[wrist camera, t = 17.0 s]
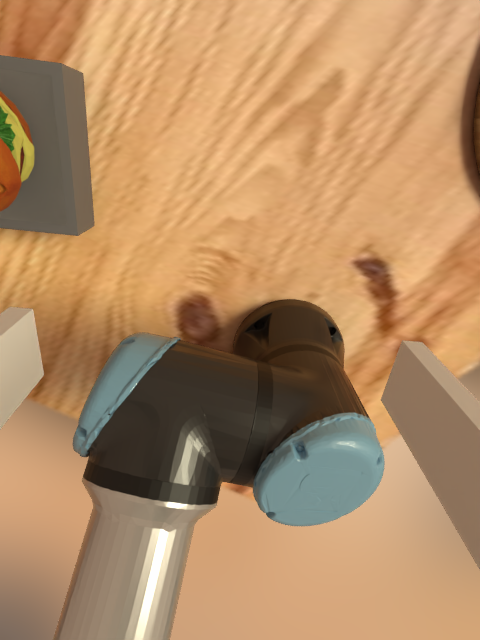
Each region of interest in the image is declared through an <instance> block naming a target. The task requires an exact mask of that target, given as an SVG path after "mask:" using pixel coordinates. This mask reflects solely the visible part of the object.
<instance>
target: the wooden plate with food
mask: <svg viewBox="0 0 480 640" xmlns="http://www.w3.org/2000/svg"><path fill="white" fill-rule="evenodd" d="M474 147H475V155H476V161H477V166H478V170H479V174H480V85H479V89H478V94H477V100H476V107H475V116H474Z"/></svg>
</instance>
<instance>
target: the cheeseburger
mask: <svg viewBox="0 0 480 640" xmlns="http://www.w3.org/2000/svg"><path fill="white" fill-rule="evenodd" d="M33 166H34V146H33V142H32V138H31V134H30V129H29V126H28V124H27V123H26V121H25V119H24V118H23V116H22V115H21V113H20V112H19V110H18V108H17V107H16V105H15V104H14V103H13V102H12V101H11V100H10V99H8V98H7V97H6V96H5V95H4V94H3V93H2V92H1V91H0V211H2V210H4V209H6V208H8V207H9V206H10V205H11V203H12V202H13V201H14V200H15V199H16V197H17V195H18V192H19V190H20V187H21V184H22V182H23V181H25V180H26V179H28V177H29V175H30V173H31V171H32V169H33Z"/></svg>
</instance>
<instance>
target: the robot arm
mask: <svg viewBox="0 0 480 640" xmlns="http://www.w3.org/2000/svg"><path fill="white" fill-rule="evenodd" d="M43 376H44V371H43V365H42V359H41V353H40V347H39V342H38V336H37V330H36V324H35V318H34V312H33V309H29V308H18V307H9V308H7V309H6V310H5V311H3V312H2V313H1V314H0V429H1V428H2V427H3V425H4V424H5V423H6V422H7V421H8V419H9V418H10V417H11V416H12V414H13V413H14V412H15V411H16V409H17V408H18V407H19V406H20V404H21V403H22V402H23V401H24V399H25V398H26V397H27V396H28V394H29V393H30V392H31V391H32V389H33V388H34V387H35V386H36V384H37V383H38V382H39V381H40V379H41V378H42V377H43ZM381 401H382V403H383V404H384V406H385V408H386V409H387V411H388V413H389V415H390V416H391V418H392V420H393V421H394V423H395V425H396V427H397V428H398V430H399V432H400V433H401V435H402V437H403V439H404V440H405V442H406V444H407V445H408V447H409V449H410V451H411V452H412V454H413V456H414V457H415V459H416V460H417V463H418V464H419V466H420V468H421V470H422V471H423V473H424V475H425V476H426V478H427V480H428V482H429V483H430V485H431V487H432V488H433V490H434V492H435V493H436V495H437V497H438V499H439V500H440V502H441V504H442V506H443V507H444V509H445V511H446V513H447V514H448V516H449V518H450V519H451V521H452V523H453V524H454V526H455V528H456V530H457V531H458V533H459V535H460V536H461V538H462V540H463V542H464V543H465V545H466V547H467V548H468V550H469V552H470V554H471V555H472V557H473V559H474V560H475V562H476V564H477V566H478V567H479V569H480V402H479V401H478V400H477V399H476V398H475V397H474V396H473V395H472V394H471V393H470V392H469V391H468V390H467V389H466V388H465V386H463V384H462V383H461V382H460V381H459V380H458V379H457V378H456V377H455V376H454V375H453V374H452V373H451V372H450V371H449V370H448V369H447V368H446V367H445V366H444V364H443V363H442V362H441V361H440V360H439V359H438V358H437V357H436V356H435V355H434V354H433V353H432V352H431V351H430V350H429V349H428V348H427V347H426V346H425V345H424V344H423V343H422V342H413V341H402V343H401V345H400V348H399V351H398V354H397V356H396V359H395V362H394V365H393V368H392V370H391V373H390V376H389V379H388V381H387V384H386V387H385V390H384V392H383V395H382V398H381ZM73 449H74V451H76V452H78V453H79V454H80V456H82V457H88V456H89V459H88V463H87V466H86V469H85V472H84V475H83V478H82V482H83V484H84V486H85V488H86V489H87V491H88V493H89V495H90V497H91V499H92V502H93V510H92V513H91V516H90V520H89V523H88V526H87V529H86V533H85V536H84V539H83V543H82V546H81V549H80V552H79V556H78V559H77V562H76V565H75V569H74V572H73V575H72V579H71V582H70V585H69V589H68V592H67V595H66V598H65V602H64V605H63V608H62V611H61V615H60V618H59V621H58V625H57V628H56V631H55V635H54V638H53V640H170V637H171V632H172V627H173V623H174V618H175V613H176V609H177V604H178V599H179V595H180V590H181V585H182V580H183V576H184V571H185V567H186V562H187V557H188V552H189V548H190V543H191V538H192V534H193V529H194V525H195V523H196V522H197V521H198V520H199V519H200V518H202V517H203V516H204V515H206V514H207V513H208V512H210V511H211V510H212V509H213V508H215V507H216V505H217V500H218V495H219V491H220V486H221V483H222V482H227V483H233V484H238V485H243V486H248V487H253V493H254V497H255V500H256V501H257V503H258V506H259V508H260V509H261V510H262V511H263V512H264V513H266V515H267V516H268V517H269V518H270V519H272V520H273V521H276V522H278V523H281V524H285V525H291V526H312V525H318V524H323V523H326V522H330V521H333V520H336V519H338V518H339V517H341V516H343V515H346V514H348V513H350V512H352V511H353V510H355V509H357V508H358V507H359V506H360V505H362V504H363V503H364V502H365V501H366V500H367V499H368V498H369V497H370V496H371V495H372V494H373V493H374V491H375V490H376V488H377V487H378V485H379V483H380V481H381V478H382V476H383V471H384V455H383V451H382V448H381V446H380V443H379V441H378V438H377V436H376V430H375V428H374V424H373V423H372V421H371V420H370V418H369V416H368V414H367V413H366V411H365V409H364V407H363V405H362V403H361V401H360V399H359V397H358V396H357V394H356V392H355V390H354V388H353V386H352V384H351V382H350V380H349V379H348V377H347V375H346V373H345V371H344V342H343V338H342V335H341V333H340V331H339V329H338V327H337V325H336V323H335V322H334V320H333V319H332V318H331V316H330V315H329V314H328V313H327V312H326V311H324V310H323V309H321V308H320V307H318V306H316V305H314V304H312V303H309V302H306V301H301V300H280V301H275V302H272V303H269V304H266V305H264V306H262V307H260V308H258V309H257V310H255V311H254V312H252V313H251V314H250V315H249V316H248V317H247V318H246V319H245V320H244V321H243V323H242V324H241V325H240V327H239V329H238V331H237V333H236V335H235V339H234V344H233V354H232V353H228V352H224V351H220V350H216V349H212V348H208V347H205V346H201V345H197V344H193V343H189V342H185V341H181V338H178V337H174V338H168V337H163V336H159V335H154V334H149V333H135V334H132V335H130V336H128V337H127V338H125V339H124V340H123V341H122V342H121V343H120V344H119V345H118V346H117V348H116V349H115V350H114V351H113V353H112V354H111V356H110V357H109V359H108V360H107V362H106V364H105V365H104V367H103V369H102V370H101V372H100V374H99V376H98V378H97V380H96V382H95V384H94V386H93V388H92V390H91V392H90V394H89V396H88V398H87V401H86V403H85V405H84V408H83V410H82V413H81V415H80V418H79V425H78V427H77V430H76V432H75V435H74V438H73Z"/></svg>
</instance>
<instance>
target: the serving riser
mask: <svg viewBox="0 0 480 640" xmlns="http://www.w3.org/2000/svg"><path fill="white" fill-rule="evenodd" d="M0 91H1V92H2V93H3V94H4V95H5V96H6V97H7V98H8V99H10V100H11V101H12V102H13V103H14V104H15V105H16V107H17V108H18V110H19V112H20V113H21V115H22V116H23V118H24V119H25V121H26V123H27V124H28V126H29V129H30V134H31V138H32V142H33V146H34V166H33V169H32V171H31V173H30V175H29V177H28V179H26V180H25V181H23V182H22V184H21V187H20V190H19V192H18V195H17V197H16V199H15V200H14V201H13V202H12V203H11V205H10V206H9V207H8V208H6V209H4V210H2V211H0V228H5V229H15V230H25V231H35V232H45V233H55V234H65V235H75V236H79V235H80V234H82V233H83V232H85V231H87V230H88V229H90V228H92V227H93V226H94V213H93V200H92V187H91V173H90V160H89V146H88V133H87V119H86V106H85V92H84V79H83V73H81V72H79V71H77V70H75V69H72V68H70V67H68V66H66V65H64V64H62V63H55V62H47V61H40V60H32V59H25V58H17V57H10V56H2V55H0Z"/></svg>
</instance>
